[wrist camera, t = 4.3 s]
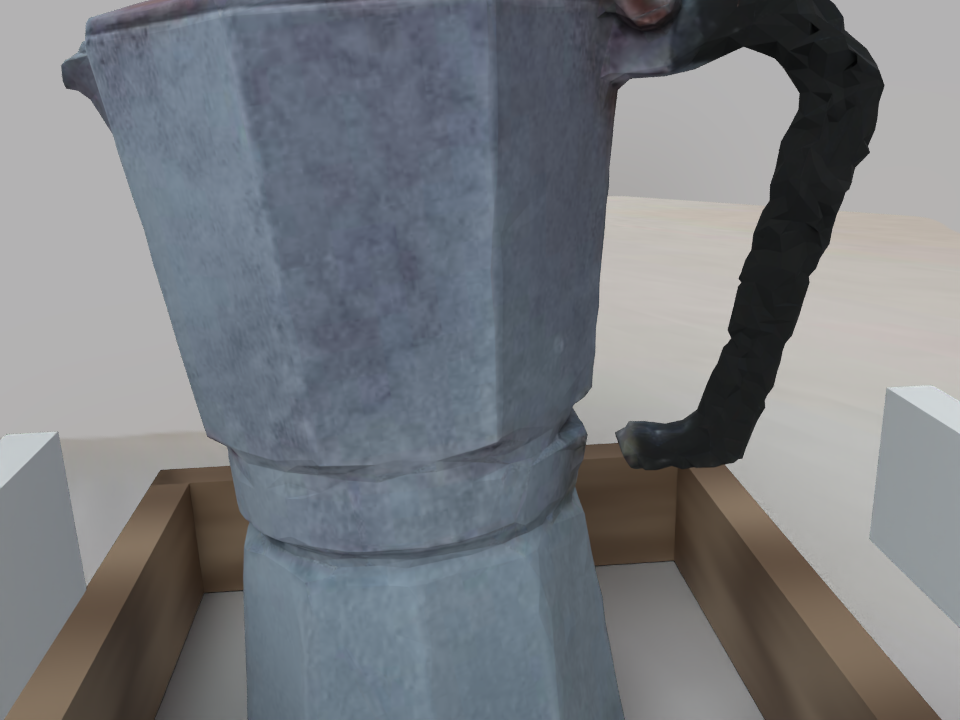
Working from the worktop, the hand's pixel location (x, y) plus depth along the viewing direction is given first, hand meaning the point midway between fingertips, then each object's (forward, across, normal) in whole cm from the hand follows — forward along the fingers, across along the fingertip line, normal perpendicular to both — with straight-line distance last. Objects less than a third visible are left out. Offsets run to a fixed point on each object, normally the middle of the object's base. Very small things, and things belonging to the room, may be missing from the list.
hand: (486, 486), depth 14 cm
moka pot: (+4, 0, -10) cm, 11 cm away
